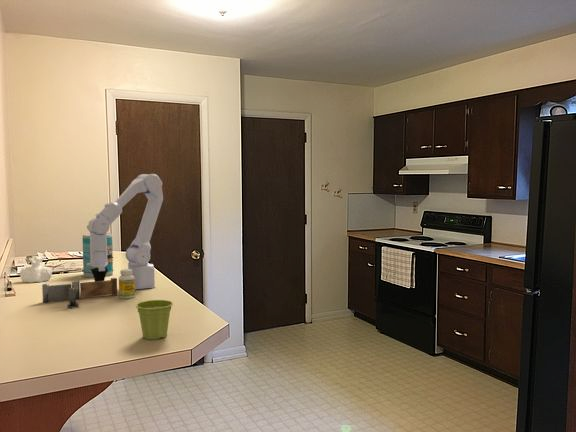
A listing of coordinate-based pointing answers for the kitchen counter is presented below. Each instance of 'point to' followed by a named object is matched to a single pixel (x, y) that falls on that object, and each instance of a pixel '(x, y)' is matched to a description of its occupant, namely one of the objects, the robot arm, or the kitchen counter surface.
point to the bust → (36, 271)
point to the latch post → (72, 299)
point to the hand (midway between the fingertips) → (99, 287)
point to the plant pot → (154, 318)
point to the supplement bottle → (126, 284)
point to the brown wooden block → (98, 288)
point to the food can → (86, 256)
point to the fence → (59, 292)
